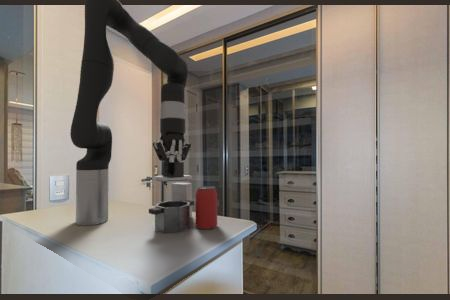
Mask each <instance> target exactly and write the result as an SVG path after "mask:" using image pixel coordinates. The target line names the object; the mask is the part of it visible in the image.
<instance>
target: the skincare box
mask: <svg viewBox="0 0 450 300" xmlns="http://www.w3.org/2000/svg"><path fill="white" fill-rule="evenodd" d="M192 192H193V187H192V182H173V183H171V201H186V200H190V201H193V193H192ZM192 217H193V205H192V206H190V218H192Z"/></svg>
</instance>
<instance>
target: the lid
mask: <svg viewBox="0 0 450 300" xmlns="http://www.w3.org/2000/svg"><path fill="white" fill-rule="evenodd" d="M172 163H173V174H172V175H171V176H169V175H166V173H165V162H164V161H162V175H155V176H154V177H153V180H154V181H156V182H183V181H191V180H192V179H193V178H192V175H190V174H189V175H188V174H184V173H185V170H184V169H185V168H184V167H185V165H184V164H185V162H184V161H181V162H174V161H172Z"/></svg>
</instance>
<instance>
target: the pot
mask: <svg viewBox="0 0 450 300" xmlns="http://www.w3.org/2000/svg"><path fill="white" fill-rule="evenodd" d="M194 205H195V201H194V200H192V201H190V200H186V201H172V200H166V201H161V202H157V203H155V206H154V207H151V208H148V214H151V215H154V231H156V232H159V233H162V234H173V233H174V234H175V233H177V234H179V233H181V232H185V231H186V230H187V231H188V230H190V229H191V228H190V226H191V217H190V206H192V207H193V206H194Z"/></svg>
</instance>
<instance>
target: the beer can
mask: <svg viewBox="0 0 450 300" xmlns="http://www.w3.org/2000/svg"><path fill="white" fill-rule="evenodd" d="M195 192H196V193H195V227H197V228H198V229H200V230H211V229H214V228H216V227H218V191H217V189H216V186H212V185H203V186H202V185H201V186H198V187H197V190H196V191H195Z"/></svg>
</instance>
